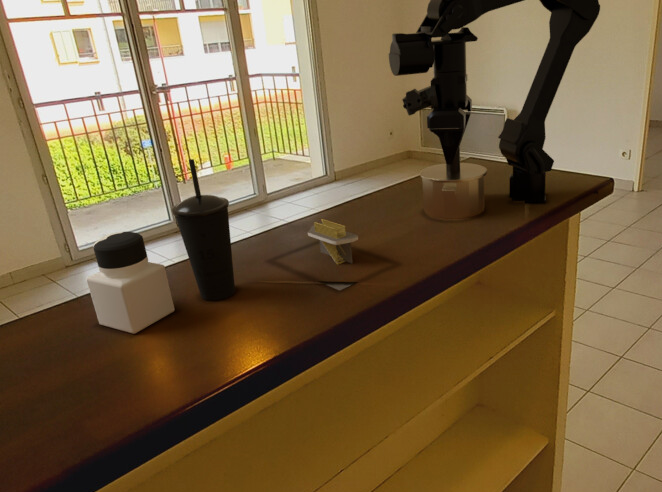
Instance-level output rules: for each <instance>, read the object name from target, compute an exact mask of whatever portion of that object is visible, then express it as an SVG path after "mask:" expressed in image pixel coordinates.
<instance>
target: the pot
mask: <svg viewBox="0 0 662 492" xmlns="http://www.w3.org/2000/svg"><path fill="white" fill-rule="evenodd" d="M421 181H422V198H423V212H424V213H425V214H426V215H427V216H429V217H432V218H436V219H442V220H460V219H466V218H472V217H475V216H478V215H480V214H481V213H484V212H485V206H486V205H485V202H486V201H485V176H484V177H482V178H479V179H476V180H472V181H467V182H458V183H440V182H432V181H428V180H425V179H423V178H421Z"/></svg>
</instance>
